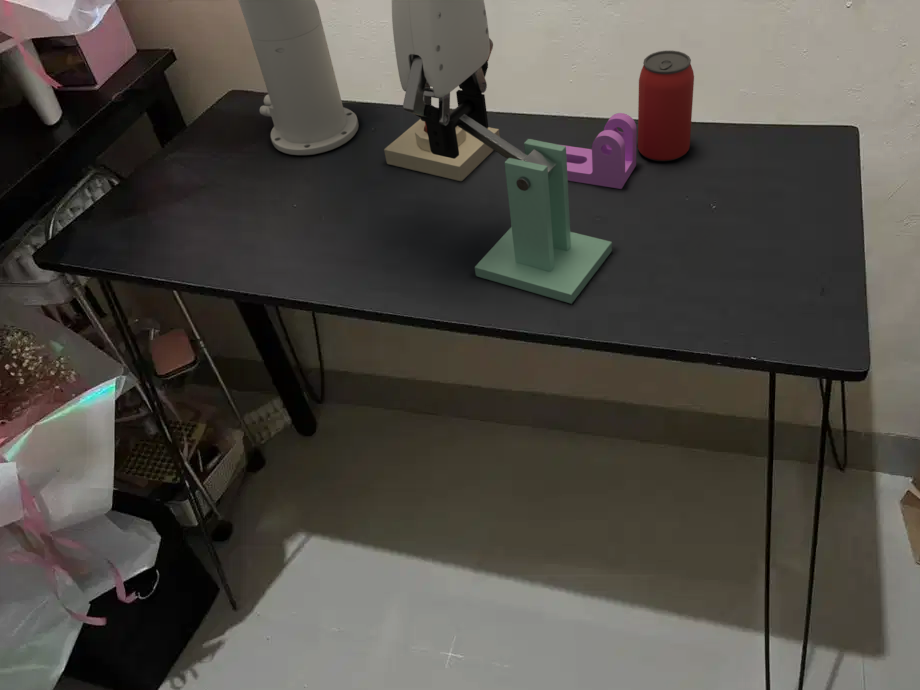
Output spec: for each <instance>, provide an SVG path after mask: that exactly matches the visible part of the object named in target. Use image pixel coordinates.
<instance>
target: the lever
mask: <svg viewBox="0 0 920 690" xmlns="http://www.w3.org/2000/svg"><path fill="white" fill-rule="evenodd" d="M474 110H475V105H474V103H473V102H472V101H471V100H465V101H464V102H462V103H461V104H460V105H459V106H458V105H457V107H455V108H454V109H453V110H452V111H450V119H449V120H451V121H454V123H455V128H456V127H457V126H458V127H460V128H461V129H463V130H465V131H466V132H468V133H469V134H471V135H472V136H474V137H475V138H477V139H478V140H480V141H481V142H483V143H484V144H486V145H487V146H489V147H490V148H492V149H493V150H494V152H496V153H498V154H499V155H500V156H502V157H504V158H505V159H506V160H507V159H508V158H512V159H517V160H522V161H526V162H531V163H536V164H540V165H545V166H547V167H548V181H549V179H550V177H551V175H552V173H553V170H554V168H555V166H556V163H555V162H553V161H552V160H550V159H549V158H547V157H546V156H544V155H543V154H541V153H540V152H538V151H537V150H535V149H533V150H532V151H531V153H530V154H529V155H526V154H525V152H523V151H522V150H520V149H519V148H517V147H515V145H513V144H511V143H509V142H508V141H506V140H505V139H504V138H502V137H501V136H500V137H499V136H497V135H496V134H494V133H493V132H491V131H490V130H488V129H487V128H485V127H484V126H482V125H481V124H479V123H478V122H476V121H475V120H473V119H472V118H470V117H469V115H470V114H472V113H473V112H474Z"/></svg>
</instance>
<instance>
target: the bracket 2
mask: <svg viewBox="0 0 920 690" xmlns="http://www.w3.org/2000/svg"><path fill="white" fill-rule="evenodd" d="M618 128H619V129H621V130H622V131H620V130H619V129H618ZM637 133H638V127H637V124H636V121H635V120H634V119H633V117H631V116H630V115H629V114H627V113H623V112H618V113H614V114H612V115H611V116H610V117H609V119H608V120H607V122H606V123H605V125H604V127H603V130H602V131H600V132H599V133H598V134H597V135H596V137H595V138H594V140H593V141H592V144H591V148H585V147H578V146H573V145H572V146H571V145H564V144H561V145H562V146H566V157H567V176H568V182H574V183H575V182H576V183H581V184H587V185H593V186H599V187H606V188H611V189H612V188H613V189H619V190H622V189H623V187H624V186H625V184H626V183H627V181H628V179H629V178H630V176H631V174H632V173H633V171H634V170H635V168H636V166H637Z"/></svg>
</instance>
